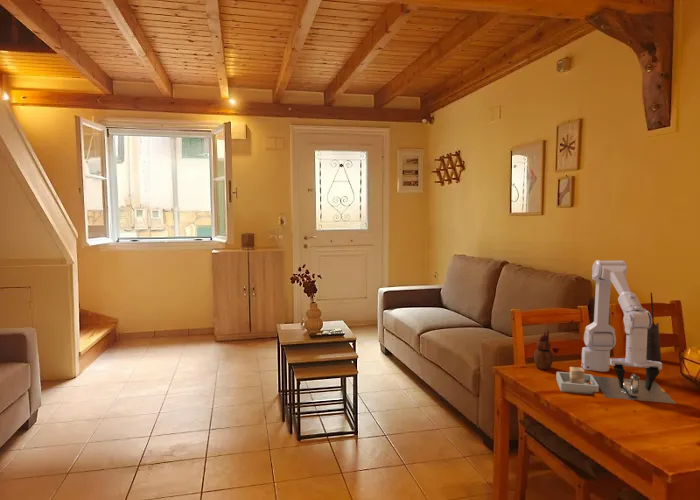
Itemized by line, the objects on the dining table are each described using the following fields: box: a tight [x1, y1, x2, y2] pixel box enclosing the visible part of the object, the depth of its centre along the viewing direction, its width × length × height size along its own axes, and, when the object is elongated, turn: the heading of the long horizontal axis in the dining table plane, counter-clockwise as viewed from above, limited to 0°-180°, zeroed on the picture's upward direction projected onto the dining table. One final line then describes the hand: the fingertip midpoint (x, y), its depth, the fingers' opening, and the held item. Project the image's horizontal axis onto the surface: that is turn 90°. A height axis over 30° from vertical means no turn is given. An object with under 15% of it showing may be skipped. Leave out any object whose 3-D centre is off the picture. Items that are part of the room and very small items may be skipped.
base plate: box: [592, 375, 677, 405], centre depth 160 cm, size 20×20×1 cm
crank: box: [624, 373, 640, 396], centre depth 157 cm, size 12×4×7 cm, turn 164°
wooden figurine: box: [533, 330, 554, 370], centre depth 184 cm, size 7×6×15 cm
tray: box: [555, 371, 600, 395], centre depth 165 cm, size 12×12×3 cm
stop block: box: [569, 366, 586, 384], centre depth 164 cm, size 4×4×6 cm
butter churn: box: [646, 292, 662, 362], centre depth 192 cm, size 9×10×28 cm
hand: (634, 388), depth 153 cm, fingers open, 7 cm apart
